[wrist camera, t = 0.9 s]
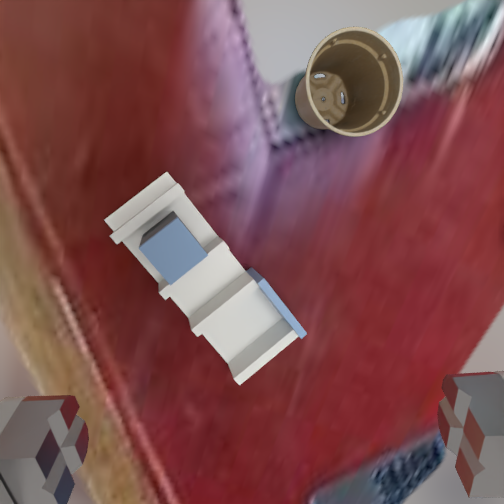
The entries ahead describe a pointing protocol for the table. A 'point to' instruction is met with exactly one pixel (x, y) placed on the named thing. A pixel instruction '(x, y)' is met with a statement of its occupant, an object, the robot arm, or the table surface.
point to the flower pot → (351, 83)
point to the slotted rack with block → (211, 283)
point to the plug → (171, 248)
